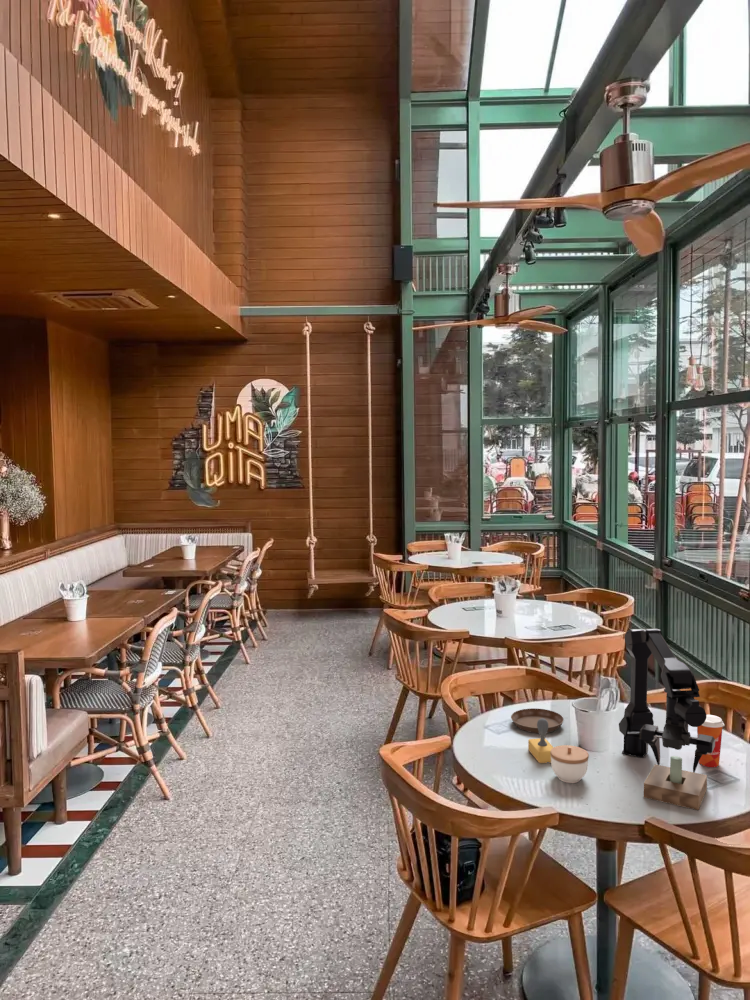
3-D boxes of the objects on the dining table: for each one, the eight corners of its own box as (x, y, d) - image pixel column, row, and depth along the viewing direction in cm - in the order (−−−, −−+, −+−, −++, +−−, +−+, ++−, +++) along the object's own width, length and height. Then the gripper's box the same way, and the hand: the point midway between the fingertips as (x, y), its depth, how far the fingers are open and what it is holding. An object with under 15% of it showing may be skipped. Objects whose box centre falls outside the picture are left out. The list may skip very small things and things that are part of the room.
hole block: (643, 797, 204) (643, 783, 204) (654, 777, 216) (654, 764, 216) (698, 810, 197) (698, 795, 197) (706, 789, 209) (707, 775, 208)
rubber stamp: (557, 762, 227) (557, 723, 227) (538, 763, 227) (539, 725, 226) (545, 748, 237) (545, 712, 236) (527, 750, 237) (528, 713, 236)
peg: (668, 794, 206) (669, 759, 205) (670, 789, 209) (671, 755, 208) (680, 796, 204) (680, 761, 204) (682, 792, 207) (683, 757, 206)
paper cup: (691, 764, 225) (692, 718, 224) (700, 755, 230) (701, 711, 229) (718, 771, 219) (719, 725, 218) (726, 763, 225) (728, 718, 224)
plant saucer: (524, 738, 246) (524, 729, 246) (502, 719, 263) (502, 710, 263) (573, 732, 250) (573, 723, 250) (548, 714, 267) (548, 706, 267)
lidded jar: (569, 790, 209) (570, 758, 208) (542, 776, 218) (542, 744, 217) (596, 780, 215) (596, 749, 214) (568, 767, 224) (568, 736, 223)
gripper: (635, 716, 203) (634, 771, 204) (709, 729, 193) (708, 787, 194) (644, 703, 212) (643, 756, 213) (716, 715, 202) (714, 771, 203)
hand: (676, 768), depth 206 cm, fingers open, 9 cm apart
